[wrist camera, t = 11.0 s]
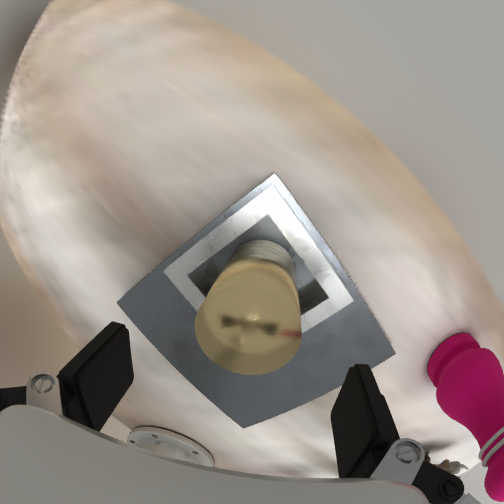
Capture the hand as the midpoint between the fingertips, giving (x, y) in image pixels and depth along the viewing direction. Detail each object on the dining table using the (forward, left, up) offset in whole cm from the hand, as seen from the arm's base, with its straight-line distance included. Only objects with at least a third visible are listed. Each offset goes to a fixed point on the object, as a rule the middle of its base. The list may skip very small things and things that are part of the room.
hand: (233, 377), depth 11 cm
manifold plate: (-3, -4, -12) cm, 13 cm away
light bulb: (+1, 0, -10) cm, 10 cm away
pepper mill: (+11, -20, -12) cm, 25 cm away
